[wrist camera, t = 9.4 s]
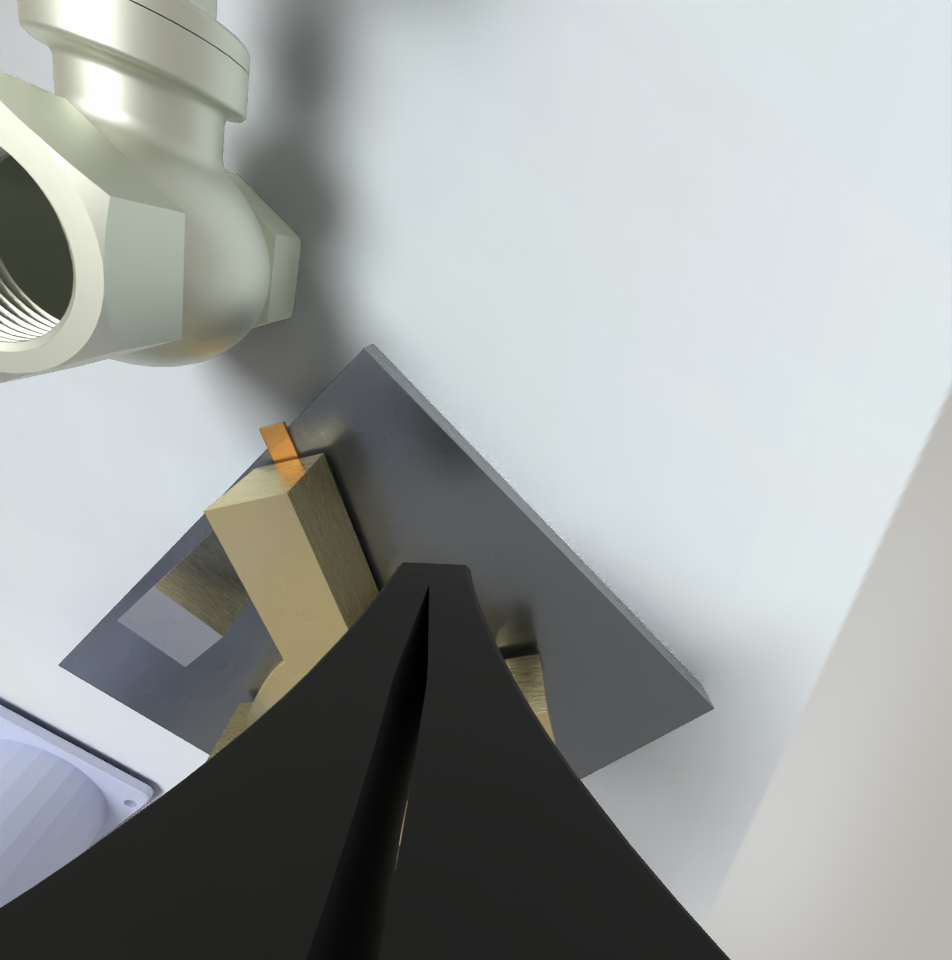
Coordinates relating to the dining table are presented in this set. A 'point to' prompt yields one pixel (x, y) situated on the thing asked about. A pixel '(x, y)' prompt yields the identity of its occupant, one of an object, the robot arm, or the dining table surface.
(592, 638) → the flange plate
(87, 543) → the dining table surface
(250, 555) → the gold cross-shaped piece
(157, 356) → the valve
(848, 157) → the dining table surface
